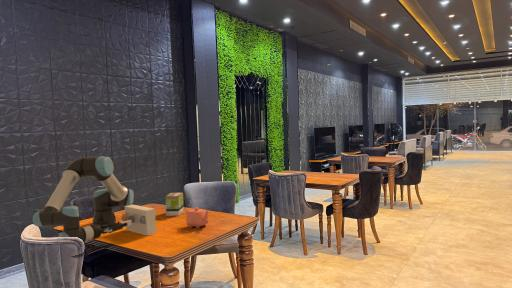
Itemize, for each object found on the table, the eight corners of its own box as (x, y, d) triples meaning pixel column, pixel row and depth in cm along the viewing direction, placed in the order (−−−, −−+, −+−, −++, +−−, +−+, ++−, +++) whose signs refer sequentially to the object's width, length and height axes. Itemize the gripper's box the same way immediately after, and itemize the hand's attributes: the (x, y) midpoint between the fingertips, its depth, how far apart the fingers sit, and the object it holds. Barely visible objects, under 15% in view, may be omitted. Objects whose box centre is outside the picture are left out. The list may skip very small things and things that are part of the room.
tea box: (179, 215, 261) (178, 195, 260) (165, 216, 261) (164, 196, 261) (184, 211, 276) (183, 191, 275) (171, 211, 276) (170, 192, 276)
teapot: (180, 227, 230) (179, 208, 229) (192, 222, 240) (191, 204, 239) (204, 230, 219) (203, 211, 219) (216, 225, 229) (215, 207, 229)
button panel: (125, 229, 229) (124, 206, 228) (134, 227, 234) (133, 204, 233) (147, 235, 214) (146, 210, 213) (156, 233, 218) (154, 208, 218)
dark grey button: (139, 223, 217) (139, 216, 216) (142, 222, 218) (141, 215, 218) (143, 224, 214) (143, 217, 214) (146, 223, 215) (145, 216, 215)
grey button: (128, 222, 220) (128, 215, 219) (131, 221, 221) (130, 214, 221) (132, 223, 217) (132, 216, 217) (135, 222, 218) (134, 215, 218)
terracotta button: (121, 220, 225) (121, 213, 225) (124, 220, 226) (123, 213, 226) (125, 221, 222) (125, 214, 222) (127, 221, 223) (127, 214, 223)
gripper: (85, 237, 196) (125, 227, 214) (97, 241, 187) (137, 230, 206) (84, 223, 195) (124, 214, 214) (96, 227, 187) (136, 217, 205)
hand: (130, 222), depth 210 cm, fingers closed
